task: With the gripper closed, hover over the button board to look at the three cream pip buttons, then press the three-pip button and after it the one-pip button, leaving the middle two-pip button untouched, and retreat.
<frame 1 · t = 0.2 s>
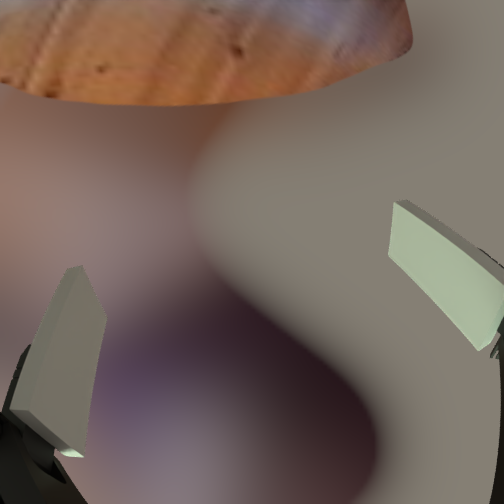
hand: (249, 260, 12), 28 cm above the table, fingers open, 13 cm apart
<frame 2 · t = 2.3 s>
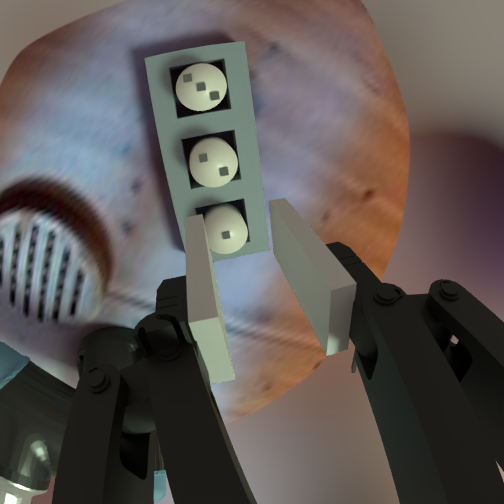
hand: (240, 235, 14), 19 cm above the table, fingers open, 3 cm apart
button 1: (224, 228, 30), point 3 cm above the table, slide at 0.0 cm
button board: (210, 154, 29), on the table
button 3: (200, 87, 23), point 3 cm above the table, slide at 0.0 cm
button 2: (212, 161, 27), point 3 cm above the table, slide at 0.0 cm
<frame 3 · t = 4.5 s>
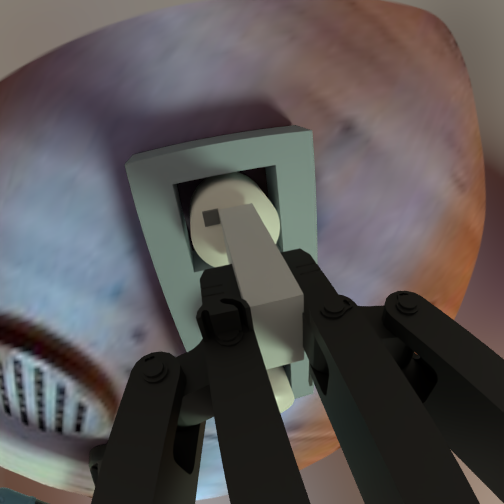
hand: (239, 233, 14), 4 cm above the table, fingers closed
button 1: (262, 389, 22), point 3 cm above the table, slide at 0.0 cm
button board: (242, 299, 21), on the table
button 3: (231, 219, 15), point 2 cm above the table, slide at 0.9 cm, touching gripper
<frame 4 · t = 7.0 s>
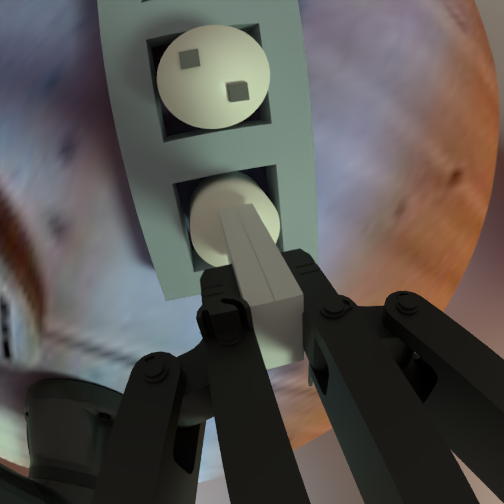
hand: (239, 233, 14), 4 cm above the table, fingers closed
button 1: (231, 218, 15), point 2 cm above the table, slide at 1.0 cm, touching gripper
button board: (206, 81, 13), on the table
button 2: (211, 78, 11), point 3 cm above the table, slide at 0.0 cm
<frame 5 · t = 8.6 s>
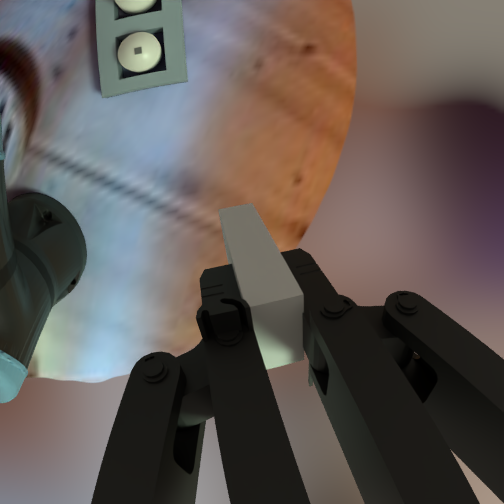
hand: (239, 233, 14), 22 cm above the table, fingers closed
button 1: (140, 53, 24), point 2 cm above the table, slide at 1.0 cm
button board: (140, 1, 22), on the table
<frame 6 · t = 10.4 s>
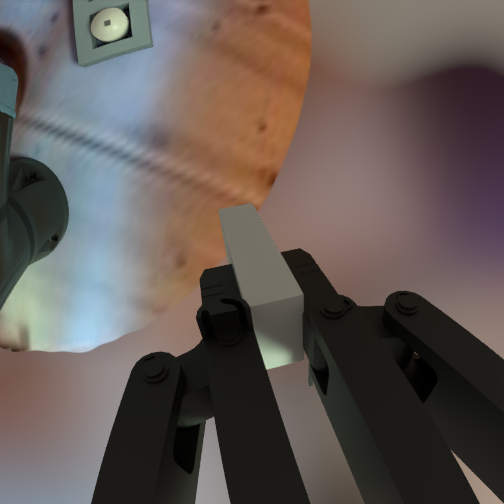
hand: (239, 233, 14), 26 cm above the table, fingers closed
button 1: (110, 25, 24), point 2 cm above the table, slide at 1.0 cm
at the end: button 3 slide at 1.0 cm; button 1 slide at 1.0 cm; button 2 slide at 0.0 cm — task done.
